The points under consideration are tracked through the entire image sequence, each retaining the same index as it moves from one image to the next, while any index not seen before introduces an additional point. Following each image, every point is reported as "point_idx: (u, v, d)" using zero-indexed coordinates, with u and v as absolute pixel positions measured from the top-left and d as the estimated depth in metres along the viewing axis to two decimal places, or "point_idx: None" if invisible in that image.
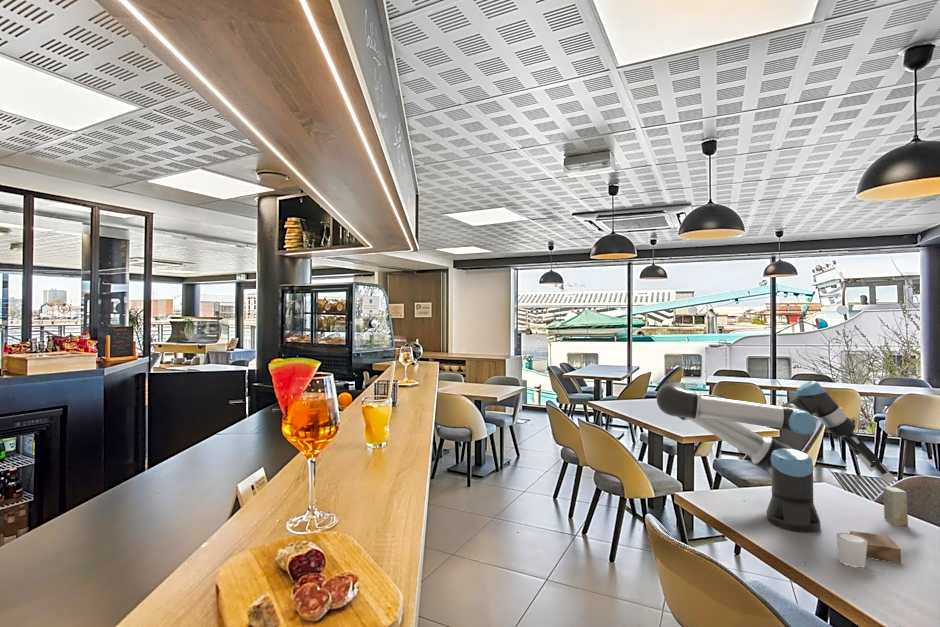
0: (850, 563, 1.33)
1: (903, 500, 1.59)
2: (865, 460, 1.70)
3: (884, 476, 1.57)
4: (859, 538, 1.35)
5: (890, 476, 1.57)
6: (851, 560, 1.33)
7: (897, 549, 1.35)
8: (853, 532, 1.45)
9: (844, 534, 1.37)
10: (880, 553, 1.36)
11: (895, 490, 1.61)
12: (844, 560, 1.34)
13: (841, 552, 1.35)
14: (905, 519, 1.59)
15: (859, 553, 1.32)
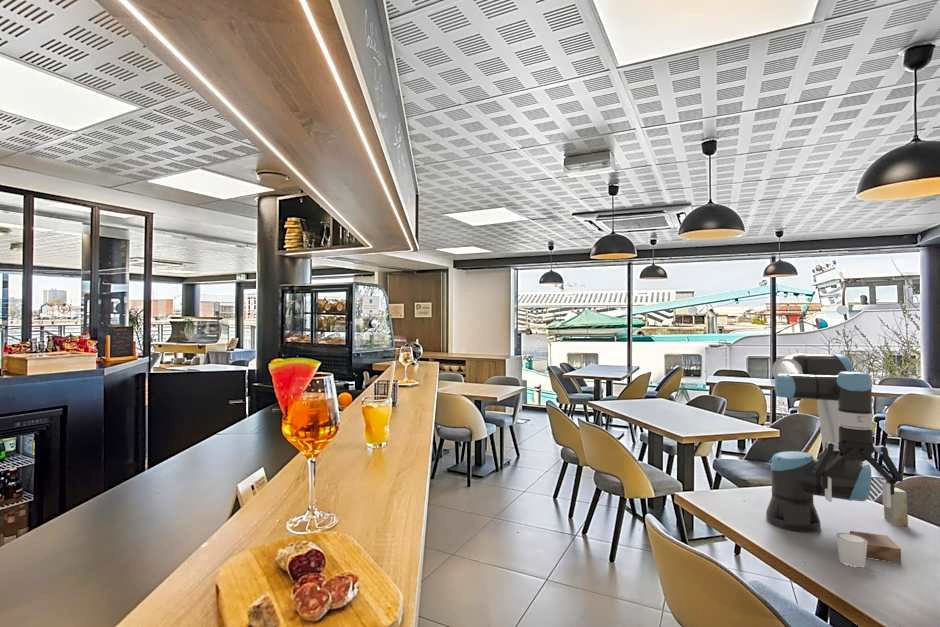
0: (850, 563, 1.33)
1: (903, 500, 1.59)
2: (883, 490, 1.34)
3: (825, 491, 1.38)
4: (859, 538, 1.35)
5: (827, 495, 1.37)
6: (851, 560, 1.33)
7: (897, 549, 1.35)
8: (853, 532, 1.45)
9: (844, 534, 1.37)
10: (880, 553, 1.36)
11: (895, 490, 1.61)
12: (844, 560, 1.34)
13: (841, 552, 1.35)
14: (905, 519, 1.59)
15: (859, 553, 1.32)
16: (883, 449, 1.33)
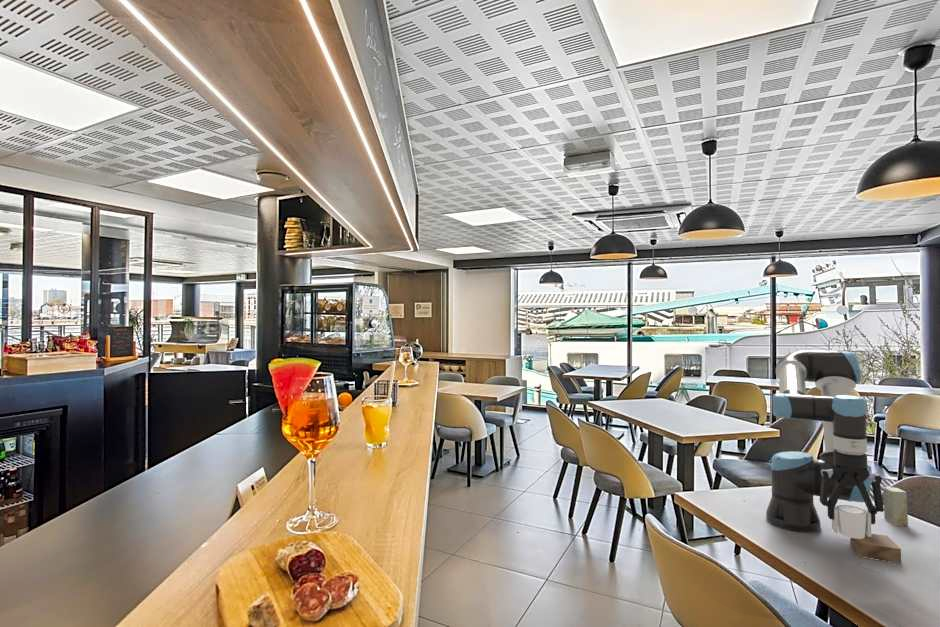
0: (850, 534, 1.33)
1: (903, 500, 1.59)
2: None
3: (832, 521, 1.38)
4: (858, 509, 1.35)
5: (834, 525, 1.36)
6: (851, 531, 1.33)
7: (897, 549, 1.35)
8: None
9: (843, 506, 1.38)
10: (880, 553, 1.36)
11: (895, 490, 1.61)
12: (844, 531, 1.34)
13: (840, 524, 1.35)
14: (905, 519, 1.59)
15: (858, 524, 1.32)
16: (877, 478, 1.32)
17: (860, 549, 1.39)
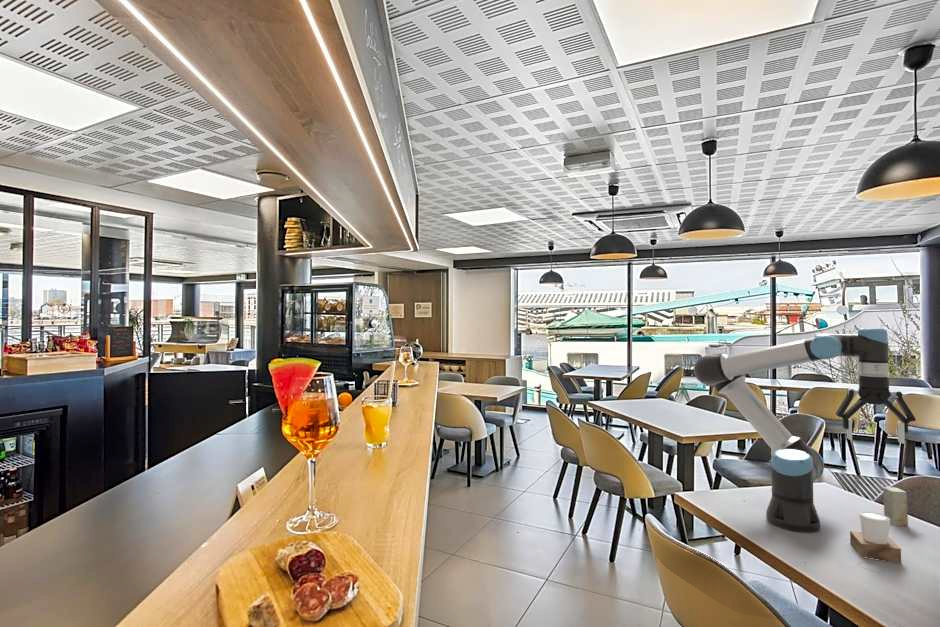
0: (873, 540, 1.38)
1: (903, 500, 1.59)
2: (899, 429, 1.55)
3: (847, 431, 1.60)
4: (882, 516, 1.40)
5: (848, 434, 1.59)
6: (874, 537, 1.38)
7: (897, 549, 1.35)
8: (853, 532, 1.45)
9: (867, 512, 1.42)
10: (880, 553, 1.36)
11: (895, 490, 1.61)
12: (868, 537, 1.39)
13: (864, 530, 1.40)
14: (905, 519, 1.59)
15: (882, 530, 1.37)
16: (898, 393, 1.53)
17: (860, 549, 1.39)
